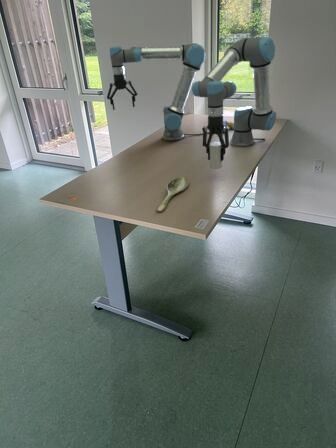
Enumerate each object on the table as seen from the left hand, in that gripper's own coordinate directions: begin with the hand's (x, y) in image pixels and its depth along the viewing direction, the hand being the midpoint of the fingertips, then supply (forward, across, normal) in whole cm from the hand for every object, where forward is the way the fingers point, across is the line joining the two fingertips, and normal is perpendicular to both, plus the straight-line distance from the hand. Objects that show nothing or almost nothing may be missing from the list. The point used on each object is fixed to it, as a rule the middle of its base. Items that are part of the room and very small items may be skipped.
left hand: (123, 108), depth 224 cm
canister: (+21, +34, -76) cm, 86 cm away
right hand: (+17, +34, -76) cm, 85 cm away
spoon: (+27, +5, -87) cm, 91 cm away
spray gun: (+27, +76, +5) cm, 81 cm away
